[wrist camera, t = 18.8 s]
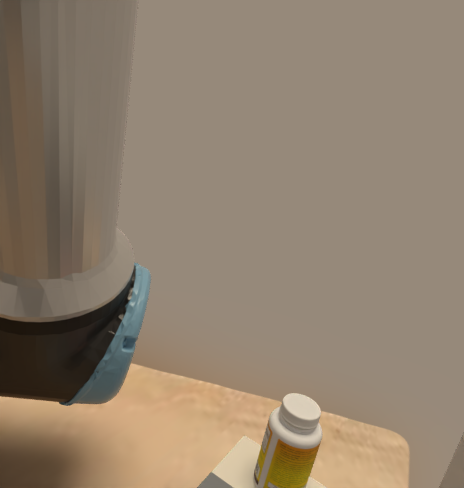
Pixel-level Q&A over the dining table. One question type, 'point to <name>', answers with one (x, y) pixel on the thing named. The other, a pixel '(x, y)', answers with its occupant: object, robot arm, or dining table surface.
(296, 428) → the supplement bottle
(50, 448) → the dining table surface
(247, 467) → the board
